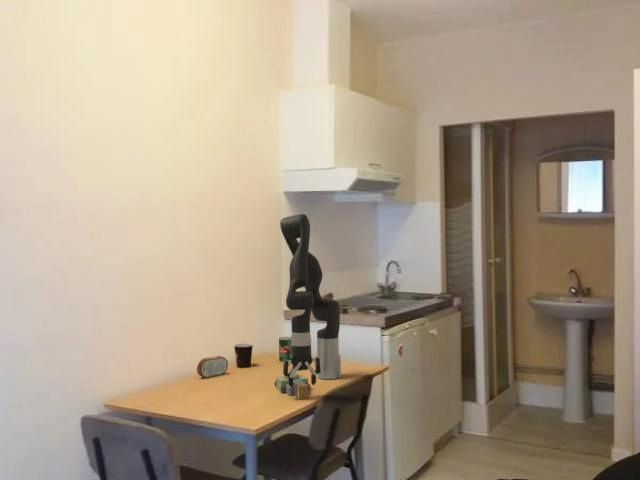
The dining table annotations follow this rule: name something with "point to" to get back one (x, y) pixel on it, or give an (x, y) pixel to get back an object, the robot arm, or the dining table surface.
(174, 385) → the dining table surface
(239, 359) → the coffee mug
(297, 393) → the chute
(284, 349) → the canned tomato
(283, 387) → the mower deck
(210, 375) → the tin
